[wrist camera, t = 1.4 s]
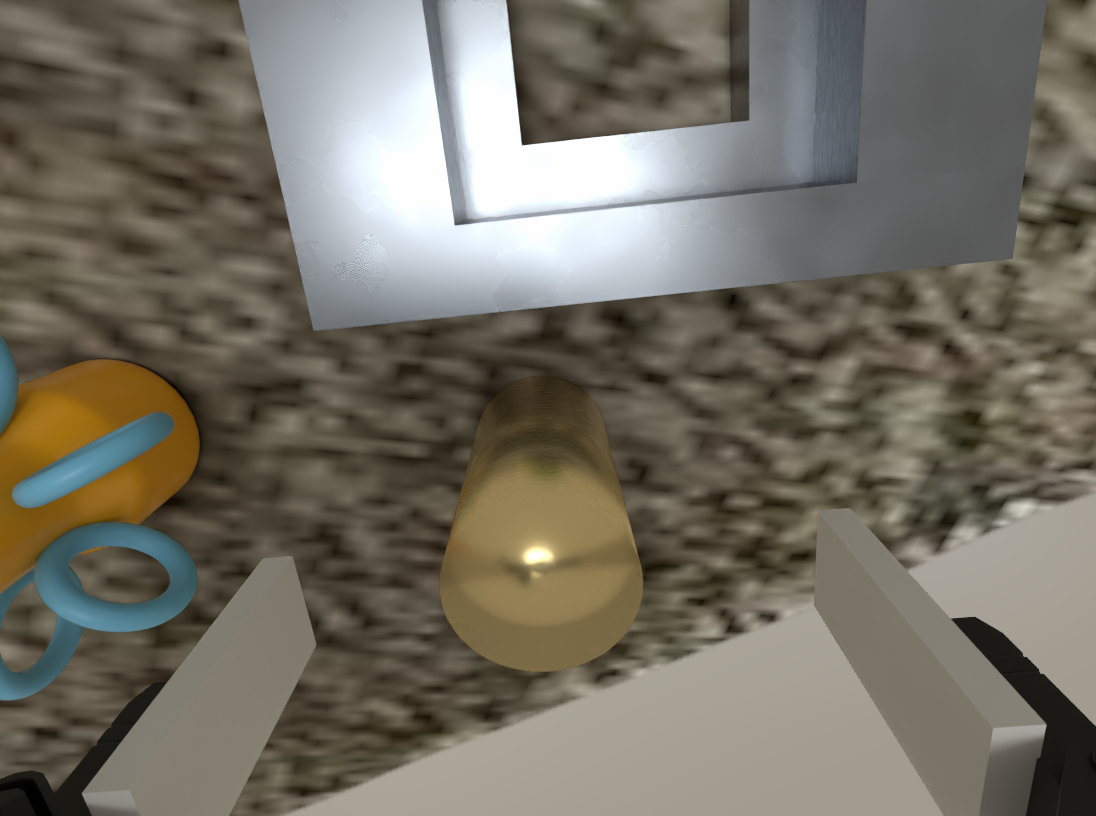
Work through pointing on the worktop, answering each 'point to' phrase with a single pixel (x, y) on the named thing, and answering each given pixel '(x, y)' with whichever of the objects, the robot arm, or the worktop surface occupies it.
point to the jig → (638, 156)
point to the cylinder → (88, 495)
